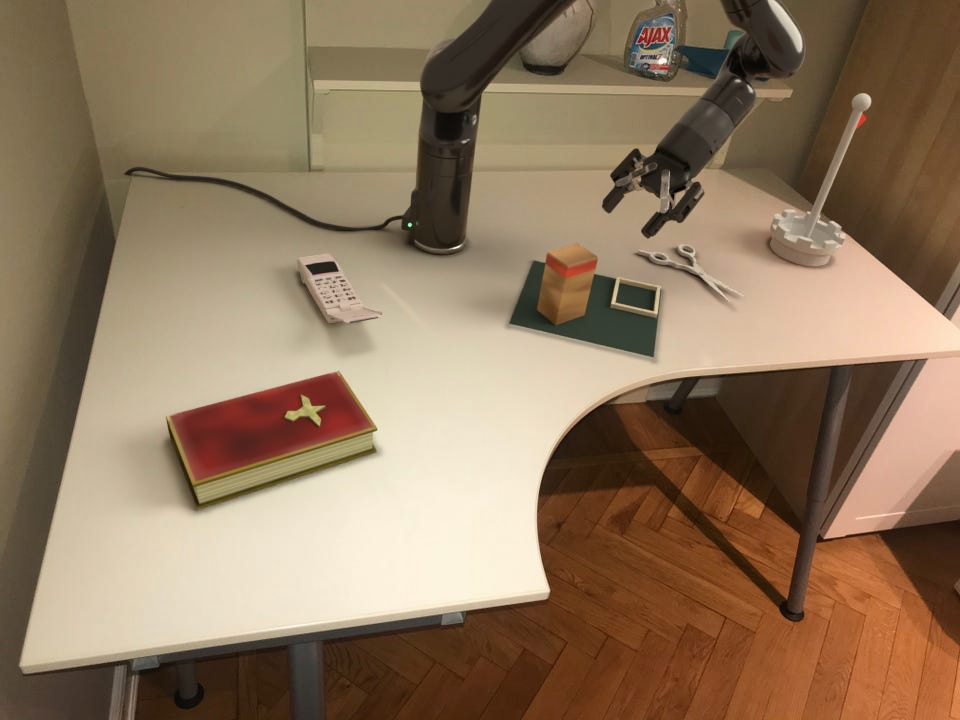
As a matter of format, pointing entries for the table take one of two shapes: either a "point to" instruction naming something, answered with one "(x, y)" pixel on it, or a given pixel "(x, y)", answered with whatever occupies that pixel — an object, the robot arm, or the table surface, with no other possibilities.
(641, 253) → the scissors
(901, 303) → the table surface
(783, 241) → the flag stand
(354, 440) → the hardcover book
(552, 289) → the box
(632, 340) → the mat
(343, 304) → the mobile phone
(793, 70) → the robot arm
